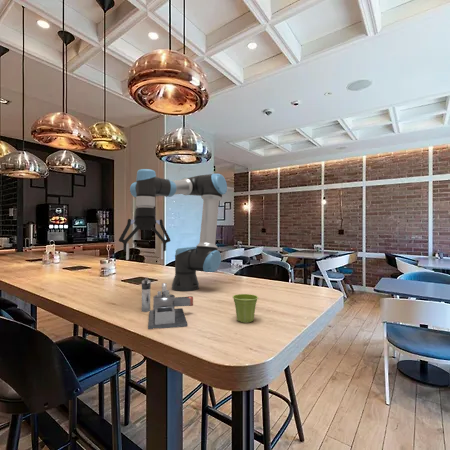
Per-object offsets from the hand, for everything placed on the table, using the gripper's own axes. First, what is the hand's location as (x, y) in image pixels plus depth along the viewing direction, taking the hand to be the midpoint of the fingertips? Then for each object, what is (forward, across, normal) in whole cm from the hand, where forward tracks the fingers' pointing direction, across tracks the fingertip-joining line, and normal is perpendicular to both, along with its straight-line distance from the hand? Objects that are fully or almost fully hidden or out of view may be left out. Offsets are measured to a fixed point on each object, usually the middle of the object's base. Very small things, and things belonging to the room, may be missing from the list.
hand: (145, 259), depth 114 cm
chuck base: (+21, -9, +13) cm, 26 cm away
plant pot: (+21, -37, +20) cm, 47 cm away
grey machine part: (+20, -11, +8) cm, 24 cm away
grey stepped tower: (+21, -1, 0) cm, 21 cm away
